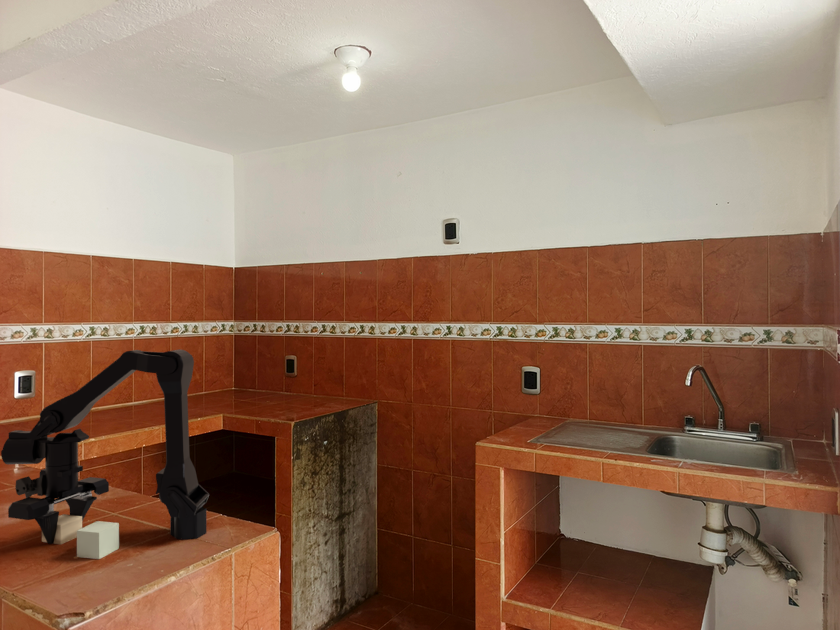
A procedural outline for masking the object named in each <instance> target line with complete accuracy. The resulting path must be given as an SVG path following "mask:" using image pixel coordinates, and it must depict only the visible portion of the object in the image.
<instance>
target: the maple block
mask: <svg viewBox="0 0 840 630" xmlns="http://www.w3.org/2000/svg"><path fill="white" fill-rule="evenodd" d="M81 528H83V521H82V516H75V515H70V514H66V513H65V514H64V513H63V514H61V515H60V514H59V516H58V522H57V528H56V534H55V539H54V542H53V543H52V544H54V545H63V544H65V543H67V542H69V541H70V542H71V541H72V540H74V539H77V530H79V529H81ZM41 542H43V543H47V541H46V539H45V536H44V534H43V532H42V531H41Z"/></svg>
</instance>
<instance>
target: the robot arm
mask: <svg viewBox="0 0 840 630" xmlns="http://www.w3.org/2000/svg"><path fill="white" fill-rule="evenodd" d="M194 364H195V360H194V357H193V355H192V354H191V353H190V352H188V351H187V350H184V349H176V350H168V351H165V352H164V351H163V352H162V351H146V350H145V351H144V350H141V349H133V350H127V351H124V352H123V353H122V354H121V355H120V356H119V357H118V358H117V359H116V360H115V361H113V362H112V363H110V364H109V365H108V366H107V367H105V368H104V369H103V370H102V371H100V372H99V373H98V374H97V375H96V376H94V377H93V378H91V380H89V381H88V382H87V383H85V384H84V385H83V386H81V387H80V388H79V389H77V391H74V392H73V393H71V394H69V395H67V396H64V397H62V398H60V399H58V400H56V401H54V402H53V403H51V404H49V405H47V406H46V407H44V408H43V409H41V411H40V413H39V420H38V421H37V422H36V424H35V425H34V427H33V428H32V429H31V430H27V431H26V430H22V429H21V430H20V429H19V430H17V429H16V430H12V431H10V432H8V438H7V439H5V442H4V444H3V447H2V449H1V451H0V457H1V460H2V462H3V463H4V464H5V465H38V464H40V463H42V461H43V460H45V468H43V469H40V471H39V476H38V477H36V478H33V479H32V478H31V477H30V476H25V477H22V478H18V479H16V480H15V492H16V494H17V495H18V496H22V495H25V498H22V499H19V500H16V501H13V502H11V504H9V506H8V510H7V511H8V514H7V515H8V518H10V519H18V520H25V521H32V520H35V521H36V523H37V524H38V526H39V528H40V530H41V533H42V532H43V534H44V536H45V539H46V541H47V542H46V543H47V544H49V545H52V544H54V543H53V542H54V539H55V534H56V528H57V522H58V516H60V511H57V510H54V507H55V506H54V505H56V504H60V503H62V502H66V504H67V505H68V508H69V515H75V516H82V522H83V521H84V519H85V517H86V516H87V515H86V514H87V513H88V511H89V510H90V509H91V506H92V505H93V503H94V501H97V500H98V499H97V498H98V497H97V496H100V495H102V494H103V495H104V494H105V493H108V492H109V491H110V483H109V481H108V480H107V478H105V477H104V478H101V477H95V476H93V477H92V476H89V477H87V478H83V479H80V480H79V473H80V472H83V470H84V465H79V443H81V442H83V441H86V440H88V439H89V438H90V435H88V434H87V433H86V432H84V431H83V429H81V428H77V429H75V430H73V431H72V432H63V431H65V430H68V429H71V428H74V427H76V426H78V425H79V424H80V423H81V422H82V421H83V420H84V419H85V417H87V416H88V414H90V412H91V409H92V408H93V407H94V406H95V405H96V403H98V402H99V401H100V400H101V399H102V398H104V397H105V396H106V395H107V394H108V393H110V392H111V391H112V390H113V389H115V388H116V387H118V386H119V385H120V384H121V383H122V382H124V381H125V380H126V379H127V378H129V377H130V376H131V375H133V373H135V372H136V371H139V372H143V373H148V374H149V373H150V374H151V373H152V374H155V375H156V379H157V382H158V385H159V387H160V390H161V391H162V393H163V399H164V400H163V401H164V402H163V403H164V429H165V431H164V433H165V455H166V456H165V458H166V459H165V460H166V461H165V466H164V468H162V469H161V470H160V471H158V472H157V473H156V474H155V481H156V484H157V485H156V486H157V487H156V491H155V495H158V497H159V500H160V502H161V503H162V504H164V505H165V506H166V509H167V512H168V514H169V516H170V519H169V520H170V533H169V534H170V536H171V537H174V538H175V539H176V540H180V541H187V540H193V539H194V540H197V539H200V538H201V537H203V536H205V535H206V534H207V508H205V507H204V505H205V504H207V502H208V499H209V496H210V493H209V492H208V491H207V490H206V489H205V488H204V487H203V486H202V485H201V484H200V483H199V480H198V476H197V472H196V467H195V466H194V463H193V462H192V460H191V457H190V433H189V406H188V405H189V401H188V398H189V397H188V391H189V387H190V384H191V381H192V379H193V372H194ZM53 434H56V435H55V436H51V435H53ZM49 435H50V437H49ZM92 492H93V493H95V495H97V496H93V494H92ZM34 495H37V496H39V497H42V496H44V497H43V498H39V497H32V496H34Z"/></svg>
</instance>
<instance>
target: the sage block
mask: <svg viewBox="0 0 840 630" xmlns="http://www.w3.org/2000/svg"><path fill="white" fill-rule="evenodd" d="M119 527H120V524H119V522H112V521H111V522H110V521H102V520H101V521H99V520H96V521H94V522H93V523H90V524H88V525H86V526H84V527H82V528H81V529H79V530H77V538H76V556H77V557H81V558H85V559H94V560H95V559H96V560H101V559H102V558H104V557H106V556H108V555H110V554H111V553H113V552H116V551H117V550H118V549H119V548H120V528H119Z"/></svg>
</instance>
